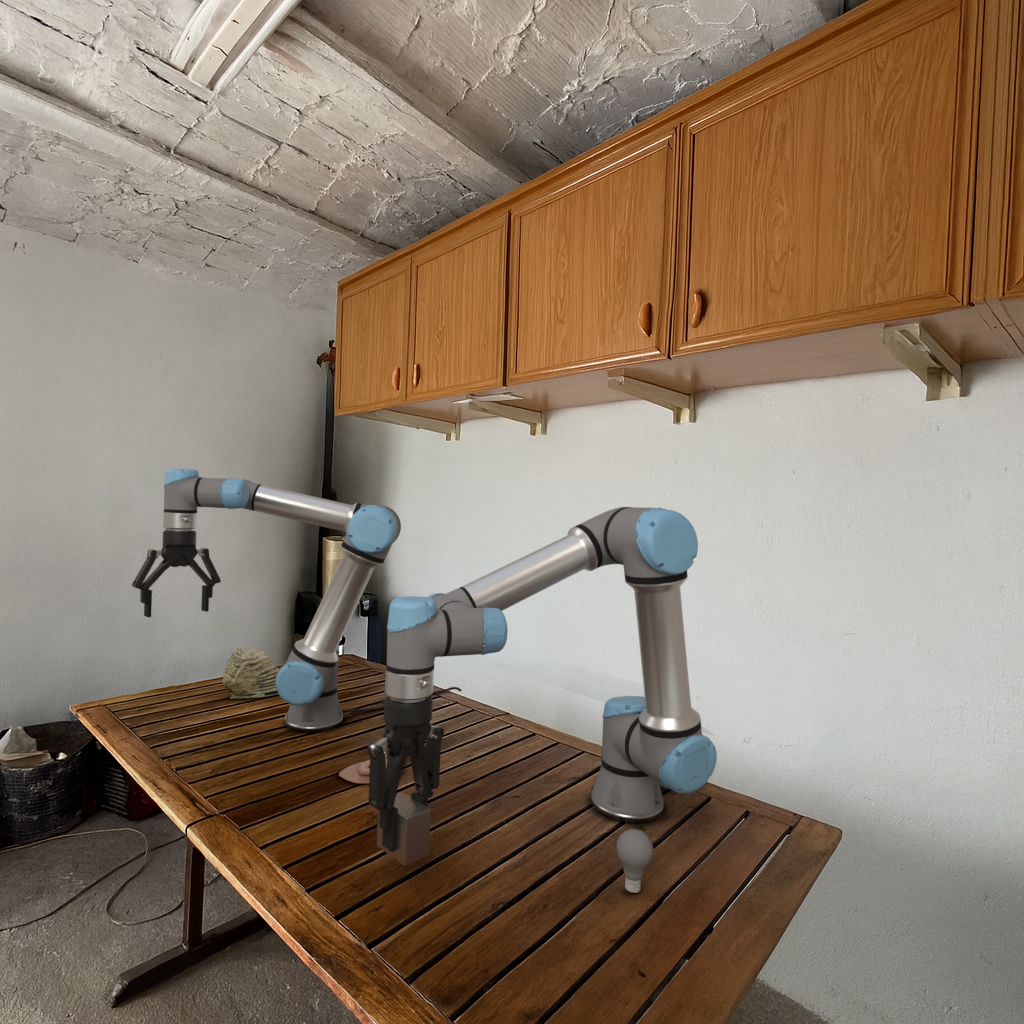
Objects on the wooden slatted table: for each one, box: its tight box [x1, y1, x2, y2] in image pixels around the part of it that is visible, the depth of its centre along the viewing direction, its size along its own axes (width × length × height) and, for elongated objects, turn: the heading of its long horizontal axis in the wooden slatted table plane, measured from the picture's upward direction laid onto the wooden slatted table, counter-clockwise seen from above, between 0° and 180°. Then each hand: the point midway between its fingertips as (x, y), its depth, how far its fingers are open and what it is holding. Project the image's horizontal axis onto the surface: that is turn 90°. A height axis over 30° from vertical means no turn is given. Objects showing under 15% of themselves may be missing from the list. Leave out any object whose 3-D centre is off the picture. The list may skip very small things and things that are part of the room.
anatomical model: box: [338, 754, 387, 784], centre depth 146 cm, size 13×4×12 cm
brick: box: [376, 792, 432, 867], centre depth 101 cm, size 8×5×7 cm, turn 46°
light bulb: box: [615, 828, 654, 894], centre depth 106 cm, size 6×6×10 cm
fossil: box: [222, 646, 280, 699], centre depth 198 cm, size 9×18×15 cm, turn 132°
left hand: (177, 613), depth 160 cm, fingers open, 13 cm apart
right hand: (403, 841), depth 101 cm, fingers closed on brick, 5 cm apart
